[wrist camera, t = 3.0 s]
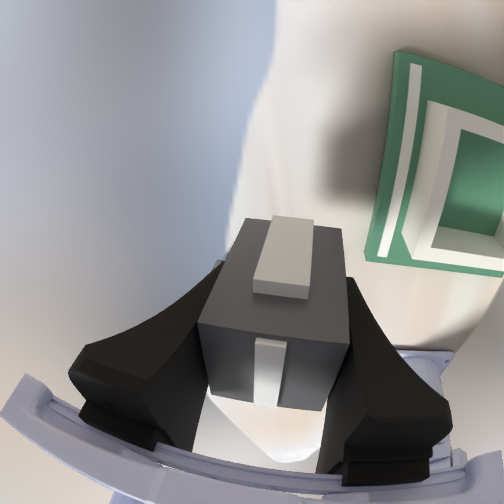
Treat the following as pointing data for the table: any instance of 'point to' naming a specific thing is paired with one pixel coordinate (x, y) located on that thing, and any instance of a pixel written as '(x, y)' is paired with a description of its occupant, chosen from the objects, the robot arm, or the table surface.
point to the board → (441, 172)
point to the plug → (278, 315)
